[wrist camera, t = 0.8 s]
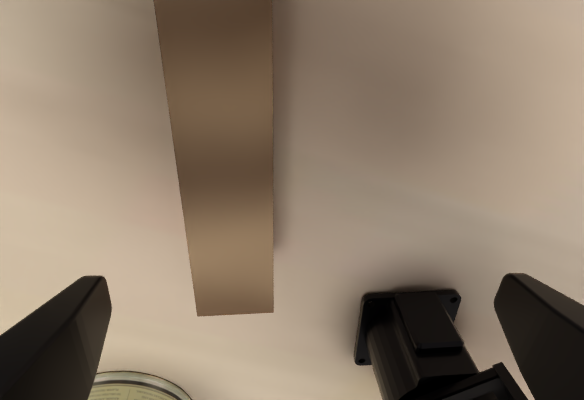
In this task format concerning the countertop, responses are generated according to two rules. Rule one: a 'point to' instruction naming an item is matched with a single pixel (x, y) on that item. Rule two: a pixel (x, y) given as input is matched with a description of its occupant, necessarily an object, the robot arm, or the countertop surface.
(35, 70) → the countertop surface
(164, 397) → the coffee can
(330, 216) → the countertop surface
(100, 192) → the countertop surface
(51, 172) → the countertop surface
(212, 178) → the brown wooden bar
